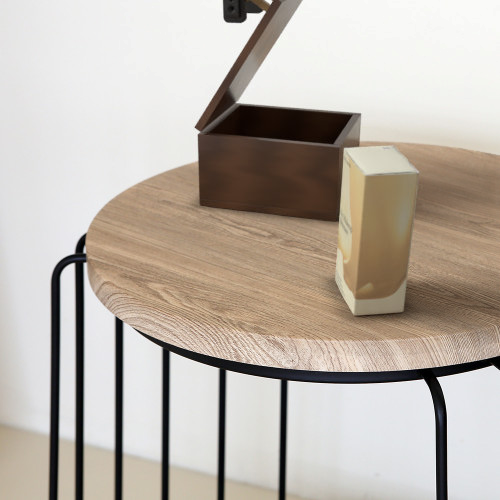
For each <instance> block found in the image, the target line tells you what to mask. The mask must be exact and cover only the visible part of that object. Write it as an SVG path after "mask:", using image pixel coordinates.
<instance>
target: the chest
mask: <svg viewBox="0 0 500 500" xmlns="http://www.w3.org/2000/svg"><path fill="white" fill-rule="evenodd" d="M361 125H362V113H361V112H353V111H352V112H351V111H340V110H339V111H337V110H326V109H315V108H303V107H301V108H300V107H289V106H278V105H265V104H255V103H253V104H252V103H241V102H236V103H235V104H234V105H232V106H231V107H230V108H229V109H228V110H226V111H225V112H224V113H223V114H222V115H220V116H219V117H218V118H217V119H216V120H214V121H213V122H212V123H211V124H210V125H208V126H207V127H206V128H205V129H204V130H202V131H201V132H200V131H199V132H198V133H197V163H198V167H197V168H198V197H199V199H198V200H199V206H202V207H210V208H220V209H228V210H236V211H242V212H243V211H245V212H252V213H253V212H254V213H262V214H270V215H276V216H277V215H278V216H287V217H295V218H303V219H312V220H319V221H328V222H336V221H337V219H339V217H340V203H341V188H342V173H343V157H344V148H352V147H360V145H361V144H360V143H361V142H360V141H361V128H362V127H361Z"/></svg>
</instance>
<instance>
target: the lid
mask: <svg viewBox="0 0 500 500" xmlns="http://www.w3.org/2000/svg"><path fill="white" fill-rule="evenodd" d="M247 1H252V2H253V3H255V4H256V5H257V6H259V7H260V8H261V9H263V10H264V11H263V12H265V13H264V14H263V16H262V17H261V19H260V20H259V22H258V24H257V25H256V26H255V29H254V30H253V32H252V34H251V35H250V36H249V38H248V39H247V41H246V43H245V44H244V46H243V48H242V50H241V51H240V53H239V54H238V56H237V58H236V59H235V60H234V62H233V64H232V66H231V67H230V69H229V70H228V72H227V74H226V75H225V77H224V79H223V80H222V81H221V84H220V85H219V87H218V88H217V90H216V91H215V93H214V95H213V96H212V98H211V100H209V103H208V105H207V106H206V108H205V109H204V111H203V112H202V114H201V116H200V117H199V119H198V120H197V122H196V124H195V125H194V127H193V128H194V129H195V130H197V131H198V132H199V133H200V132H201V131H202V130H204V129H205V128H206V127H207V126H208V125H210V124H211V123H212V122H213V121H214V120H216V119H217V118H218V117H219V116H220V115H222V114H223V113H224V112H225V111H226V110H228V109H229V108H230V107H231V106H232V105H234V104H235V103H238V102H239V100H240V98H241V97H242V96H243V94H244V92H245V91H246V89H247V88H248V86H249V85H250V83H251V82H252V80H253V78H254V77H255V75H256V74H257V72H258V70H259V69H260V68H261V66H262V65H263V63H264V61H265V59H266V58H267V57H268V55H269V53H270V52H271V51H272V49H273V47H274V46H275V45H276V43H277V41H278V39H279V38H280V36H281V35H282V33H283V32H284V31H285V29H286V27H287V26H288V24H289V22H290V21H291V20H292V18H293V16H294V15H295V13H296V12H297V11H298V8H299V7H300V6H301V4H302V2H303V1H304V0H271V3H269V2H268V1H266V0H247Z"/></svg>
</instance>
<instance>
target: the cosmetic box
mask: <svg viewBox="0 0 500 500" xmlns="http://www.w3.org/2000/svg"><path fill="white" fill-rule="evenodd" d="M419 178H420V171H419V170H418V169H417V168H416V167H415V166H414V165H413V164H412V162H410V160H409V159H408V158H407V157H406V156H405V155H404V154H403V153H402V152H400V150H399V149H398V148H397V147H396V146H395V145H391V144H390V145H389V144H388V145H375V146H373V145H372V146H371V145H370V146H359V147H352V148H344V157H343V173H342V188H341V203H340V214H339V216H338V219H339V220H338V233H337V234H338V235H337V249H336V262H335V275H334V276H335V278H334V281H335V283H336V285H337V287H338V290H339V292H340V294H341V295H342V298H343V300H344V301H345V303H346V304H347V306H348V308H349V310H350V312H351V314H352V315H353V316H355V317H356V316H366V315H368V316H369V315H382V314H396V313H403V312H404V311H405V302H406V293H407V284H408V276H409V267H410V257H411V250H412V241H413V231H414V222H415V214H416V205H417V197H418V187H419V180H420V179H419Z"/></svg>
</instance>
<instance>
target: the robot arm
mask: <svg viewBox="0 0 500 500" xmlns="http://www.w3.org/2000/svg"><path fill="white" fill-rule="evenodd" d="M263 12H265V11H264V10H263V9H261V8H260V7H259V6H257V5H256V4H255V3H253V2H252V1H247V0H222V17H223V18H222V19H223V21H224V22H225V23H226V24H242V23H245V22H246V21H247V19H248V14H256V15H257V14H261V13H263Z"/></svg>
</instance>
